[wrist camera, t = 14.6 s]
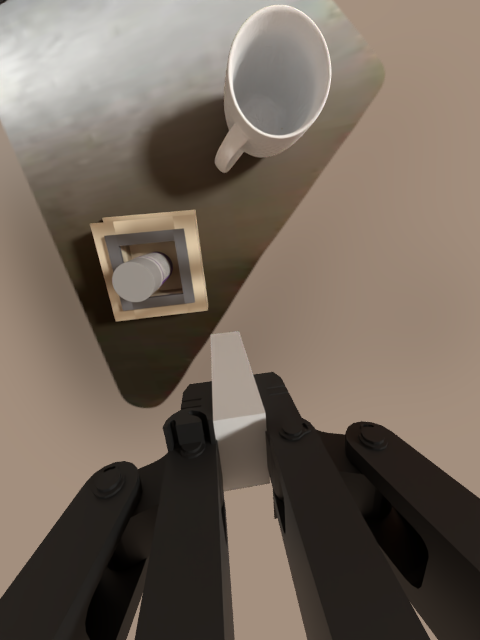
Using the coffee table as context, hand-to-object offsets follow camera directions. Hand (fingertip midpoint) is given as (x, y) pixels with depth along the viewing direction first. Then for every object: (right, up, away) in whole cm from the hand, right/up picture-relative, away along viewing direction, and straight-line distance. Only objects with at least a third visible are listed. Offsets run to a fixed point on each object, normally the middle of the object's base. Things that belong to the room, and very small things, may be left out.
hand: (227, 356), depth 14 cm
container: (-13, +11, +28) cm, 33 cm away
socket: (-13, +11, +29) cm, 34 cm away
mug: (+2, +30, +25) cm, 39 cm away
